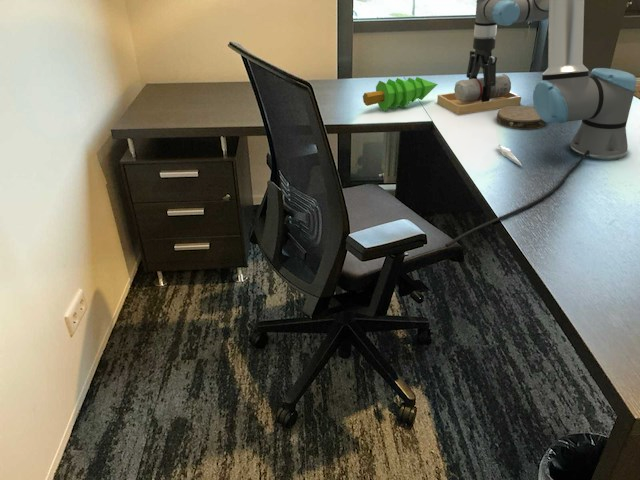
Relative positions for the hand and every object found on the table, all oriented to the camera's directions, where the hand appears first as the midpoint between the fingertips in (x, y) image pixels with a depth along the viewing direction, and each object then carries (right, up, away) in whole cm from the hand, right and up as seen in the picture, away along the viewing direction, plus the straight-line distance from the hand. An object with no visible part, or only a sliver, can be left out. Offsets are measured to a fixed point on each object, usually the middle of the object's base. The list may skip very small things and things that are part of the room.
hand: (478, 101), depth 206 cm
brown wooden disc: (+9, -12, -18) cm, 23 cm away
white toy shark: (-4, -28, -44) cm, 52 cm away
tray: (0, -1, +1) cm, 1 cm away
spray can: (+10, +6, +1) cm, 12 cm away
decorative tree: (-28, -2, +2) cm, 28 cm away
